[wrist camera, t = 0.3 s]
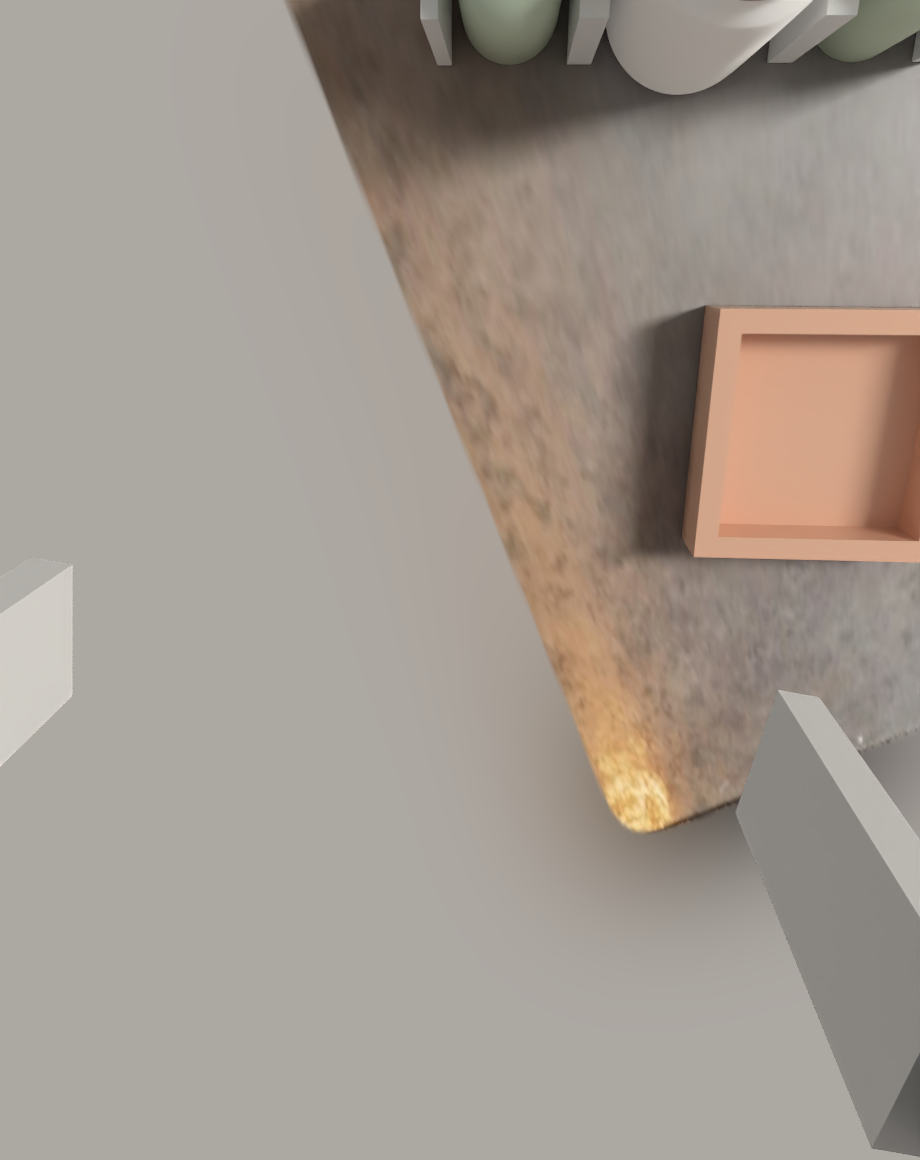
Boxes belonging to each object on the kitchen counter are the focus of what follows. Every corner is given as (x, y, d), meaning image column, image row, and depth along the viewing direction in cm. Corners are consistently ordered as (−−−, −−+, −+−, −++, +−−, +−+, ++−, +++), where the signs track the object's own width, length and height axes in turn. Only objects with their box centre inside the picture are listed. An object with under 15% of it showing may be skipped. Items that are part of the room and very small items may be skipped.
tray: (705, 305, 38) (720, 308, 35) (955, 307, 37) (991, 310, 34) (681, 537, 42) (693, 556, 39) (908, 542, 41) (937, 562, 38)
